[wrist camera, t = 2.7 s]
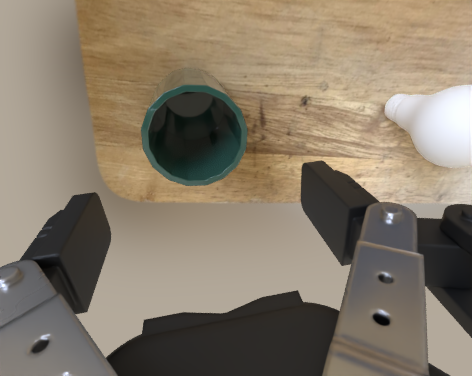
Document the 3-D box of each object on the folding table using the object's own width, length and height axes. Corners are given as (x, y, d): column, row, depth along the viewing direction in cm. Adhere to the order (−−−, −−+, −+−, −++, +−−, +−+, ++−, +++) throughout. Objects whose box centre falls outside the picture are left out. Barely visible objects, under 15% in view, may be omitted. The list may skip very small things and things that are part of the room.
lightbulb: (357, 89, 28) (451, 119, 18) (417, 60, 27) (545, 75, 18) (368, 144, 31) (454, 195, 21) (422, 119, 30) (535, 158, 21)
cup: (143, 126, 26) (127, 166, 18) (168, 54, 24) (163, 64, 16) (209, 151, 28) (222, 197, 20) (238, 87, 26) (264, 111, 18)
